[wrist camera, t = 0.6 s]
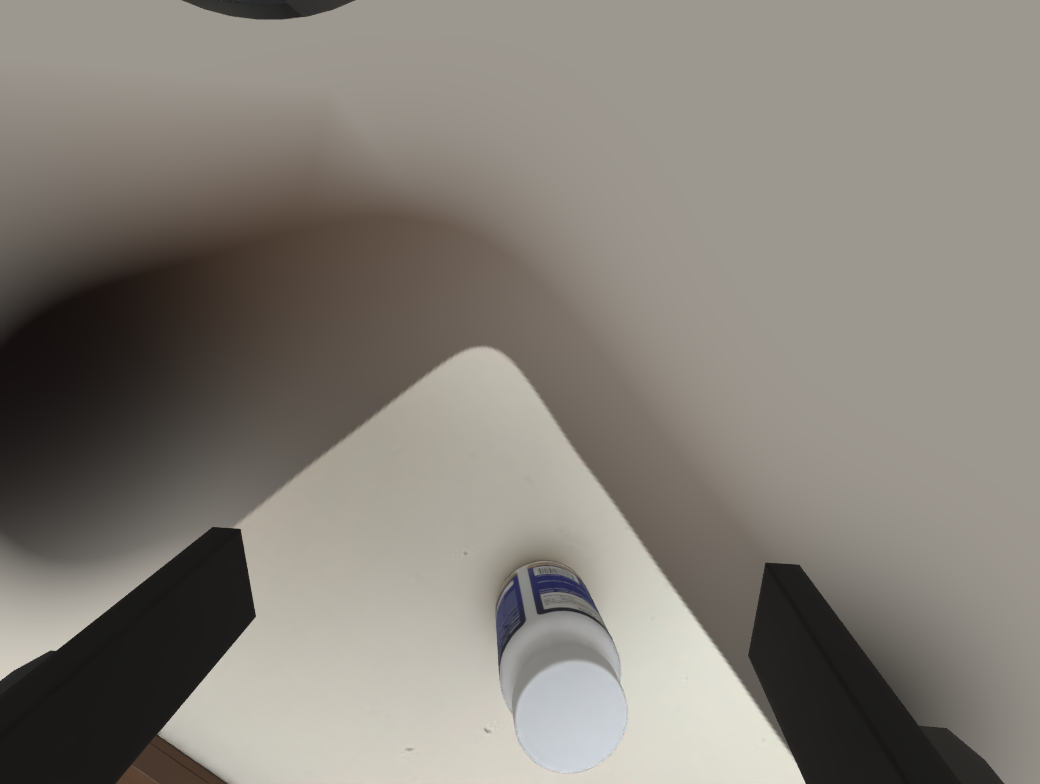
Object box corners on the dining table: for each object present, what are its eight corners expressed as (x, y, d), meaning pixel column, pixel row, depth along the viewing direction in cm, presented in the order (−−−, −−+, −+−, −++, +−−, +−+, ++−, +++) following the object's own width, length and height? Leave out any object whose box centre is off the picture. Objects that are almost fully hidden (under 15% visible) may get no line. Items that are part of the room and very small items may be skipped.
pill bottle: (527, 668, 29) (548, 816, 19) (477, 591, 29) (471, 700, 19) (606, 616, 30) (667, 735, 20) (557, 539, 29) (593, 620, 19)
